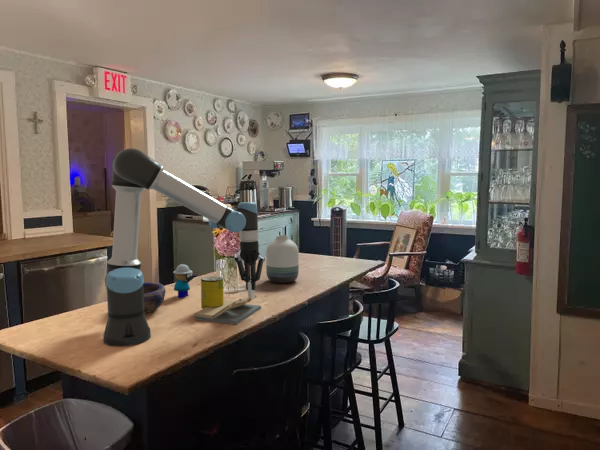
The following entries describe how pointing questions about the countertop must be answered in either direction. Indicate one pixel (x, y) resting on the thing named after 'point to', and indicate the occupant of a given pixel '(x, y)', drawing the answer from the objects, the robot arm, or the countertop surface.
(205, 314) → the underlay
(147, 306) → the bowl
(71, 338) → the countertop surface
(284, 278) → the vase
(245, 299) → the plank far
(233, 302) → the tan flat block
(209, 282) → the beverage can
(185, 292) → the toy
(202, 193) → the robot arm
